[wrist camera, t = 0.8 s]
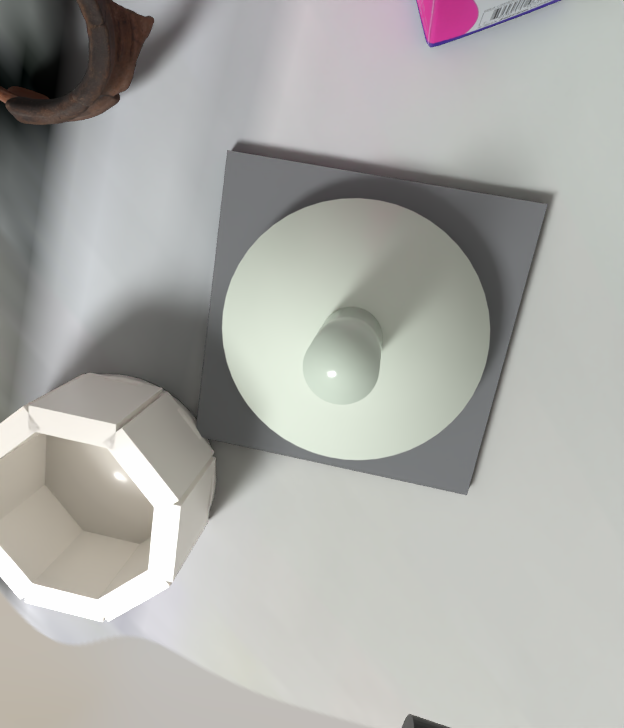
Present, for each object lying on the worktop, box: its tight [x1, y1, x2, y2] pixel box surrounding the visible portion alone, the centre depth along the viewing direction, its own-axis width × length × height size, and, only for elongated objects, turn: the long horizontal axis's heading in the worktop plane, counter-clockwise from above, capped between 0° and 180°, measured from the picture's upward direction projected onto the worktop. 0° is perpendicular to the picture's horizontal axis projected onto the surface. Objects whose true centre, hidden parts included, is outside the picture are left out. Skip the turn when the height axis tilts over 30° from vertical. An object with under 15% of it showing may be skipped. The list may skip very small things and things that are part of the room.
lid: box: [222, 198, 490, 460], centre depth 23 cm, size 12×12×6 cm
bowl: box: [0, 372, 216, 622], centre depth 28 cm, size 11×11×5 cm
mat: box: [196, 150, 548, 495], centre depth 27 cm, size 14×14×1 cm
